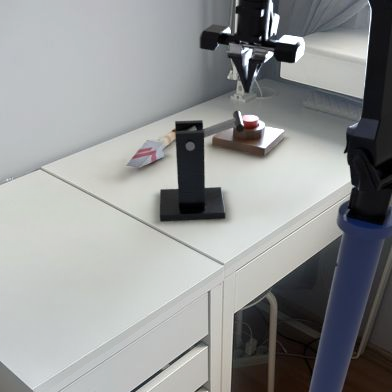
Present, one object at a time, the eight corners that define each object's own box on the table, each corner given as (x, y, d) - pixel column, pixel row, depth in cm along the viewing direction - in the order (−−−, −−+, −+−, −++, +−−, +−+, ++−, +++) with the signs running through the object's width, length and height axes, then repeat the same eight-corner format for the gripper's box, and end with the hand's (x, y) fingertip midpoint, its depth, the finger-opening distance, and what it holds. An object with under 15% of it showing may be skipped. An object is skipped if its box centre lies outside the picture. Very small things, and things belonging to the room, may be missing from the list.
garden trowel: (122, 157, 96) (170, 123, 109) (123, 171, 97) (170, 136, 111) (139, 160, 94) (186, 126, 108) (141, 174, 96) (186, 139, 110)
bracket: (221, 193, 92) (222, 114, 82) (225, 219, 85) (226, 137, 75) (160, 195, 91) (154, 116, 82) (160, 221, 85) (153, 140, 75)
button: (260, 125, 105) (261, 116, 104) (253, 131, 103) (253, 122, 102) (244, 122, 106) (245, 113, 105) (237, 128, 104) (237, 119, 103)
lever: (242, 120, 81) (238, 105, 79) (245, 134, 77) (241, 119, 75) (183, 141, 83) (178, 127, 81) (184, 155, 79) (179, 141, 77)
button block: (283, 138, 108) (285, 121, 105) (264, 156, 102) (265, 139, 99) (233, 128, 112) (234, 111, 110) (212, 145, 106) (212, 128, 104)
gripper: (320, -7, 90) (305, 86, 101) (223, -19, 95) (220, 71, 106) (301, 8, 83) (288, 106, 94) (198, -5, 88) (197, 89, 100)
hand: (247, 92), depth 99 cm, fingers closed
